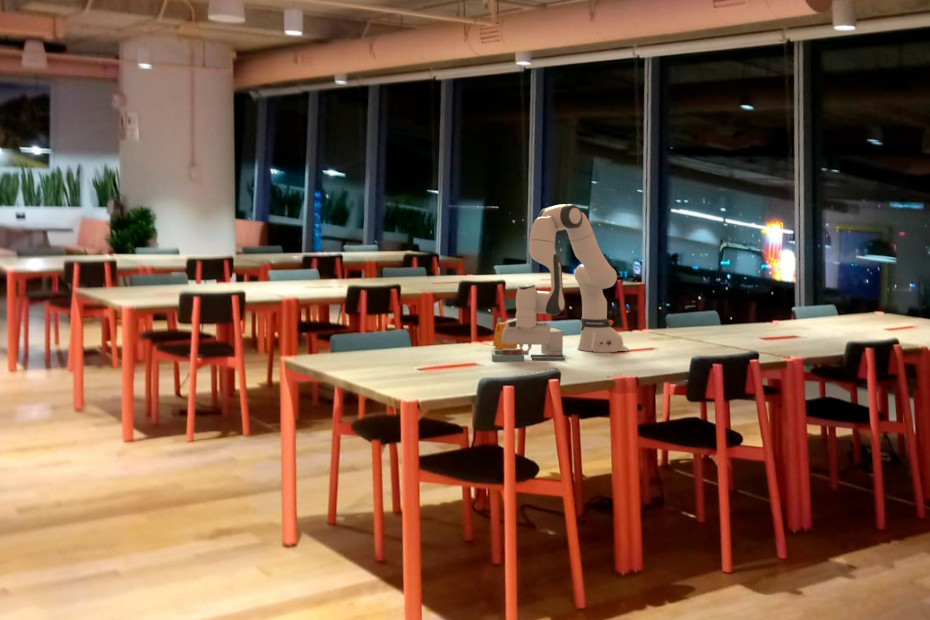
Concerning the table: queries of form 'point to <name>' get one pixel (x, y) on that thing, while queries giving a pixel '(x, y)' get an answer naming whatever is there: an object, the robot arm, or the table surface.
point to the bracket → (498, 338)
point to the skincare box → (554, 343)
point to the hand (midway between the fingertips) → (525, 354)
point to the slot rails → (548, 357)
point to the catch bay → (505, 356)
